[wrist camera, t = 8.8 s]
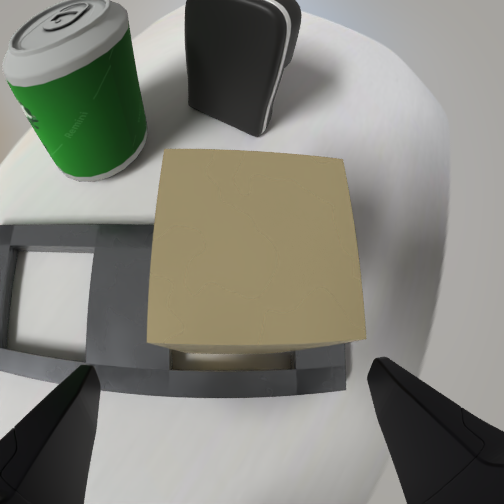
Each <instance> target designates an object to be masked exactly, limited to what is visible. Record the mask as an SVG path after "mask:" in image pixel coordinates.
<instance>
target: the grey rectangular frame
mask: <svg viewBox="0 0 504 504" xmlns="http://www.w3.org/2000/svg"><path fill="white" fill-rule="evenodd" d="M153 232H154V225H120V224H65V225H0V371H3V372H7V373H11V374H15V375H19V376H23V377H28V378H32V379H37V380H42V381H47V382H52V383H57V384H60V383H61V382H62V381H63V380H64V379H65V378H67V377H68V376H69V375H70V374H71V373H72V372H73V371H74V370H75V369H76V368H77V367H78V366H80V365H81V364H88V365H93V366H94V367H95V370H96V372H97V375H98V378H99V381H100V385H101V390H102V391H110V392H119V393H128V394H139V395H152V396H167V397H189V398H253V397H276V396H291V395H304V394H315V393H325V392H334V391H342V390H346V372H345V348H344V343H342V344H336V345H330V346H323V347H317V348H310V349H303V350H296V351H291V369H280V370H251V371H200V370H172V349H169V348H165V347H161V346H158V345H154V344H150V343H147V317H148V296H149V279H150V266H151V253H152V242H153ZM18 251H32V252H69V253H94V257H93V265H92V273H91V282H90V292H89V303H88V317H87V335H86V362H80V361H73V360H66V359H59V358H53V357H47V356H41V355H35V354H30V353H24V352H19V351H14V350H10V349H7V338H8V323H9V311H10V302H11V293H12V286H13V279H14V272H15V266H16V260H17V255H18Z"/></svg>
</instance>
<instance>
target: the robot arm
mask: <svg viewBox="0 0 504 504" xmlns="http://www.w3.org/2000/svg"><path fill="white" fill-rule="evenodd" d="M367 380H368V385H369V388H370V392H371V396H372V400H373V404H374V408H375V412H376V415H377V419H378V422H379V424H380V427H381V430H382V433H383V435H384V438H385V441H386V443H387V446H388V449H389V452H390V455H391V457H392V460H393V463H394V466H395V469H396V472H397V474H398V478H399V480H400V483H401V486H402V489H403V492H404V495H405V498H406V502H407V504H504V432H503V431H501V430H499V429H498V428H496V427H494V426H492V425H490V424H488V423H486V422H485V421H483V420H481V419H479V418H478V417H476V416H474V415H473V414H471V413H470V412H468V411H467V410H465V409H464V408H461V407H460V406H459V405H457V404H456V403H454V402H453V401H451V400H450V399H448V398H447V397H445V396H444V395H442V394H441V393H439V392H438V391H436V390H435V389H433V388H432V387H431V386H429V385H427V384H426V383H425V382H423V381H422V380H420V379H419V378H417V377H416V376H414V375H413V374H411V373H410V372H408V371H407V370H405V369H404V368H402V367H401V366H399V365H398V364H396V363H395V362H393V361H392V360H390V359H389V358H387V357H380V358H375V359H374V361H373V363H372V366H371V368H370V371H369V373H368V377H367ZM100 391H101V385H100V381H99V378H98V375H97V372H96V370H95V367H94V366H93V365H88V364H81V365H80V366H78V367H77V368H76V369H75V370H74V371H73V372H72V373H71V374H70V375H69V376H68V377H67V378H65V379H64V380H63V381H62V382H61V383H60V384H59V385H58V386H57V387H56V388H55V389H54V390H53V391H51V392H50V393H49V394H48V395H47V396H46V397H45V398H44V399H43V400H42V401H41V402H40V403H39V404H38V405H37V406H36V407H34V408H33V409H32V410H31V411H30V412H29V413H28V414H27V415H26V416H25V417H24V418H23V419H22V420H21V421H20V422H19V423H18V424H17V425H16V426H15V427H14V428H12V429H11V430H10V431H9V432H8V433H7V434H6V435H5V436H4V437H3V438H2V439H1V440H0V504H84V498H85V491H86V485H87V478H88V472H89V466H90V461H91V455H92V450H93V445H94V440H95V435H96V429H97V419H98V409H99V399H100Z"/></svg>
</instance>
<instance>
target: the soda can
mask: <svg viewBox="0 0 504 504" xmlns="http://www.w3.org/2000/svg"><path fill="white" fill-rule="evenodd" d="M2 69H3V74H4V76H5V78H6V80H7V82H8V84H9V86H10V88H11V90H12V91H13V93H14V95H15V97H16V99H17V101H18V102H19V104H20V106H21V108H22V110H23V111H24V113H25V115H26V116H27V118H28V120H29V122H30V123H31V125H32V127H33V128H34V130H35V132H36V133H37V135H38V137H39V138H40V140H41V142H42V143H43V145H44V146H45V148H46V150H47V151H48V153H49V154H50V156H51V157H52V159H53V160H54V162H55V164H56V165H57V167H58V168H59V169H60V170H61V171H62V172H63V173H64V174H65V175H66V176H67V177H68V178H71V179H74V180H76V181H79V182H94V181H98V180H101V179H105V178H109V177H111V176H113V175H114V174H116V173H118V172H120V171H122V170H124V169H125V168H126V167H127V166H128V165H129V164H130V163H131V162H132V161H134V160H135V159H136V158H137V156H138V155H139V153H140V152H141V150H142V149H143V147H144V145H145V141H146V138H147V134H148V130H147V122H146V117H145V112H144V107H143V102H142V97H141V92H140V87H139V82H138V76H137V71H136V65H135V59H134V53H133V47H132V41H131V34H130V28H129V21H128V14H127V11H126V10H125V9H124V8H123V7H122V6H121V5H120V4H118V3H115V2H112V1H110V0H65V1H62V2H59V3H57V4H55V5H53V6H50V7H49V8H46V9H45V10H43V11H41V12H39V13H38V14H36V15H35V16H33V17H32V18H30V19H29V20H28V21H27V22H25V23H24V24H23V25H22V26H21V27H20V28H19V29H18V30H17V31H16V32H15V33H14V34H13V36H12V38H11V40H10V41H9V49H8V51H7V53H6V55H5V57H4V59H3V62H2Z"/></svg>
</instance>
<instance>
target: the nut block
mask: <svg viewBox="0 0 504 504" xmlns="http://www.w3.org/2000/svg"><path fill="white" fill-rule="evenodd" d="M364 339H366V327H365V314H364V302H363V291H362V282H361V272H360V264H359V256H358V248H357V240H356V233H355V226H354V220H353V213H352V207H351V201H350V195H349V189H348V184H347V178H346V173H345V168H344V163H343V159H337V158H328V157H319V156H309V155H299V154H287V153H274V152H259V151H241V150H215V149H164V155H163V161H162V168H161V175H160V182H159V189H158V197H157V205H156V213H155V222H154V232H153V242H152V253H151V266H150V279H149V296H148V317H147V343H150V344H154V345H158V346H161V347H165V348H169V349H173V350H177V351H181V352H185V353H192V354H269V353H281V352H288V351H296V350H303V349H310V348H317V347H323V346H330V345H336V344H342V343H347V342H353V341H359V340H364Z"/></svg>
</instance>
